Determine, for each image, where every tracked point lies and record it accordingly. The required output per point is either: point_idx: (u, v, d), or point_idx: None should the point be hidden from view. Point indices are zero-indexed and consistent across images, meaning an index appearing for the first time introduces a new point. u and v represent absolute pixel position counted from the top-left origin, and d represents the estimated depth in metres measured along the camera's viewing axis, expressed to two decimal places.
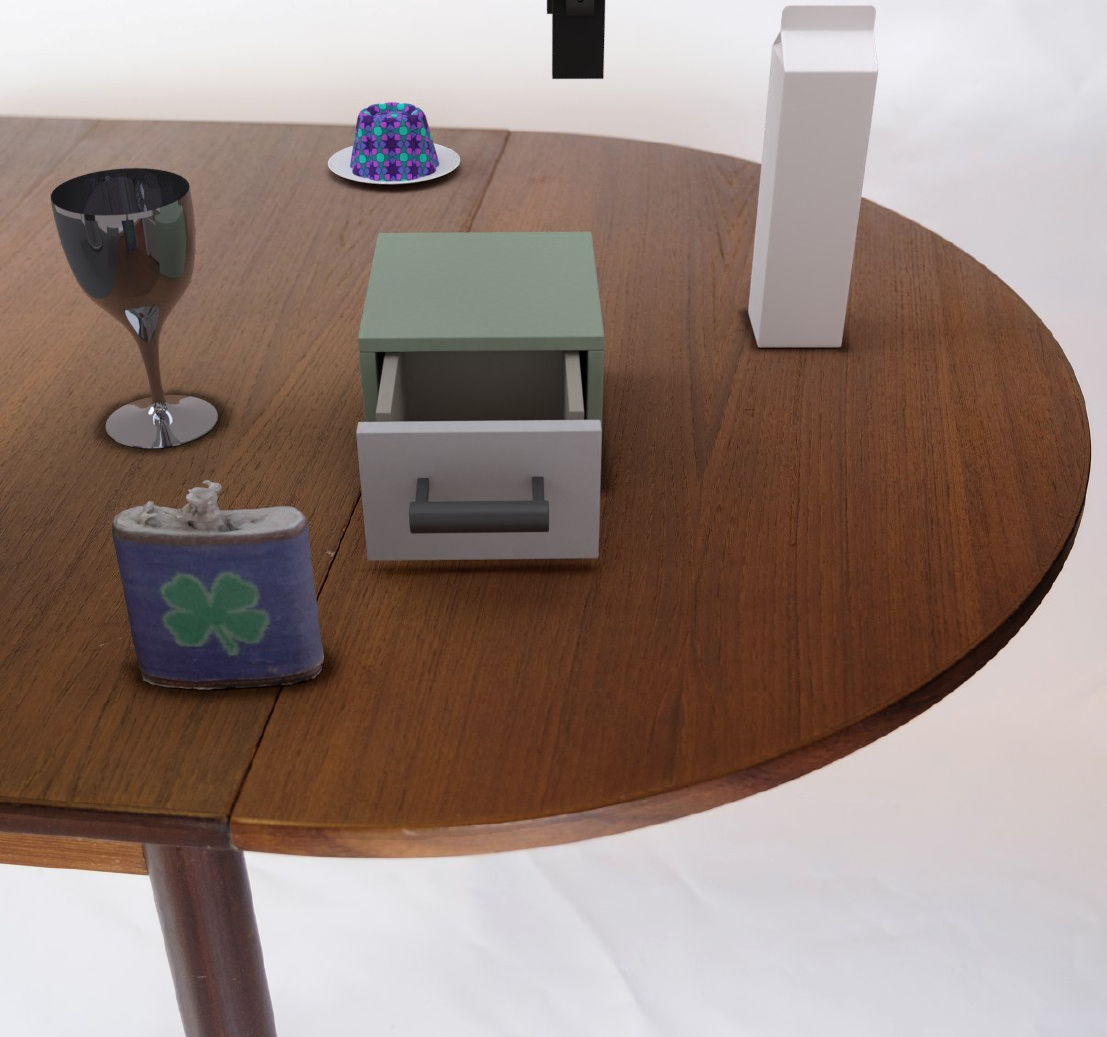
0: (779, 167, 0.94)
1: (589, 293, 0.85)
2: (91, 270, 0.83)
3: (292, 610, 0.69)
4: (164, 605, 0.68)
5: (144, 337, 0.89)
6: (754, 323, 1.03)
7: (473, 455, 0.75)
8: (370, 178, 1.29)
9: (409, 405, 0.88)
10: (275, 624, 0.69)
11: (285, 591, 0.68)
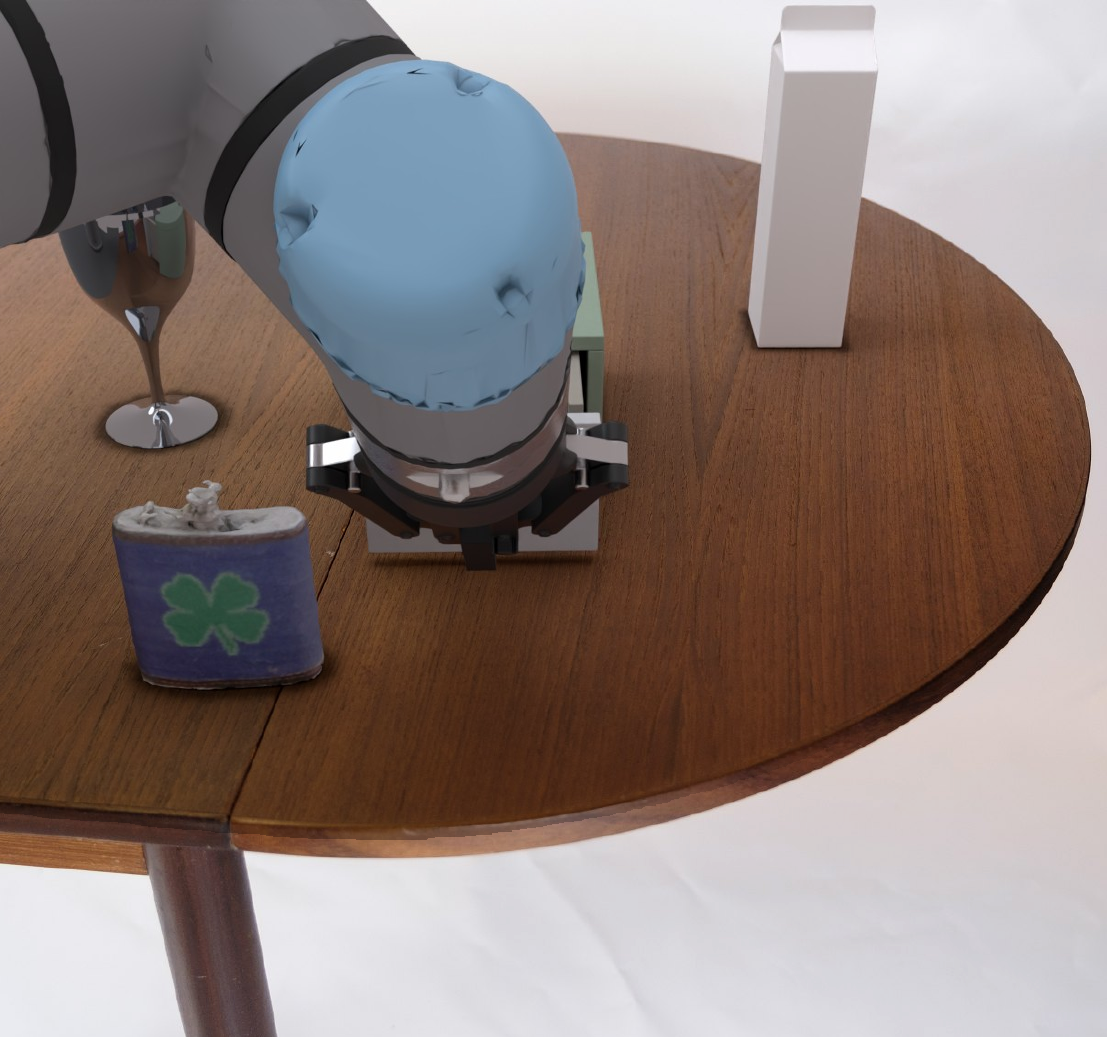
0: (779, 167, 0.94)
1: (589, 293, 0.85)
2: (91, 270, 0.83)
3: (292, 610, 0.69)
4: (164, 605, 0.68)
5: (144, 337, 0.89)
6: (754, 323, 1.03)
7: None
8: None
9: None
10: (275, 624, 0.69)
11: (285, 591, 0.68)
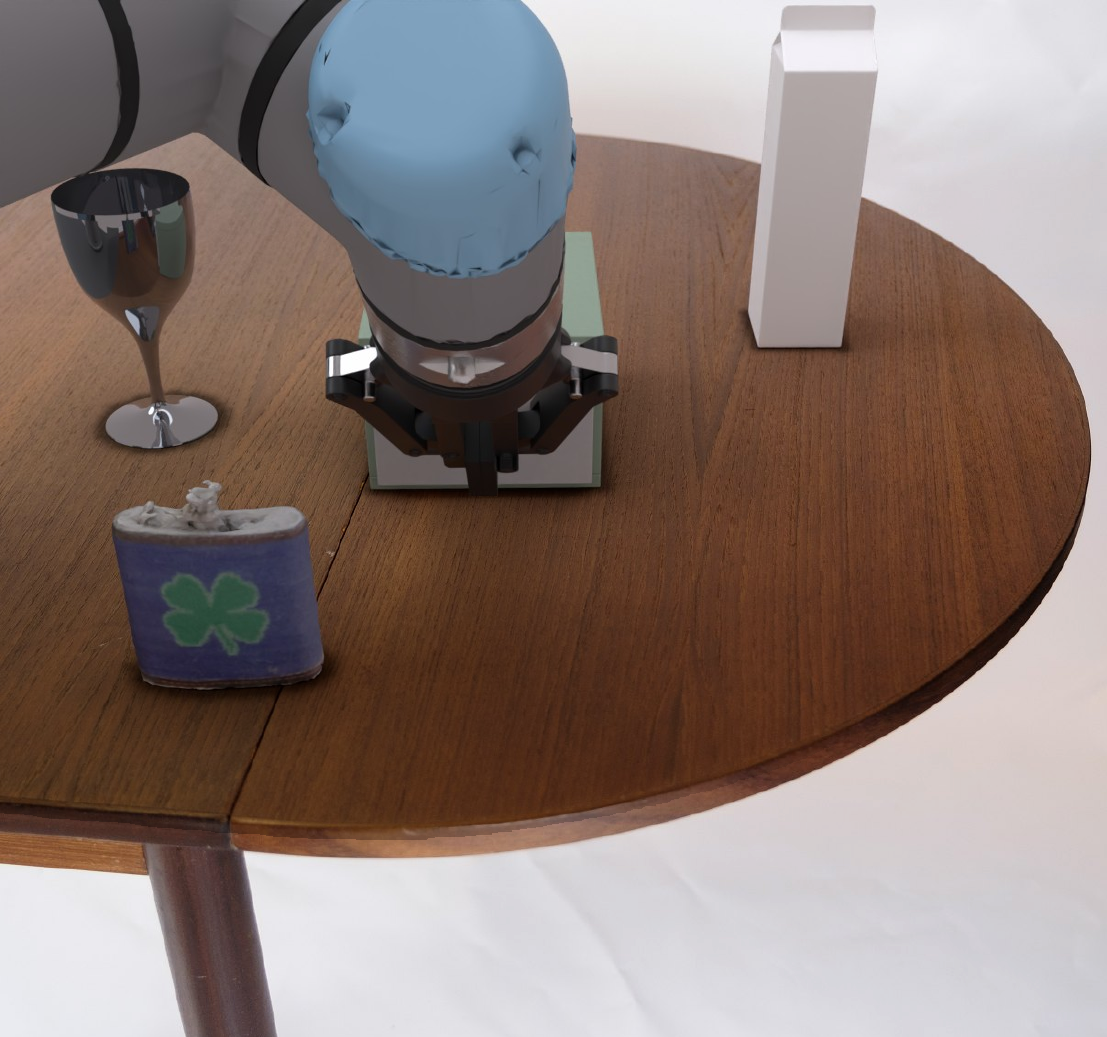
0: (779, 167, 0.94)
1: (589, 293, 0.85)
2: (91, 270, 0.83)
3: (292, 610, 0.69)
4: (164, 605, 0.68)
5: (144, 337, 0.89)
6: (754, 323, 1.03)
7: None
8: None
9: None
10: (275, 624, 0.69)
11: (285, 591, 0.68)
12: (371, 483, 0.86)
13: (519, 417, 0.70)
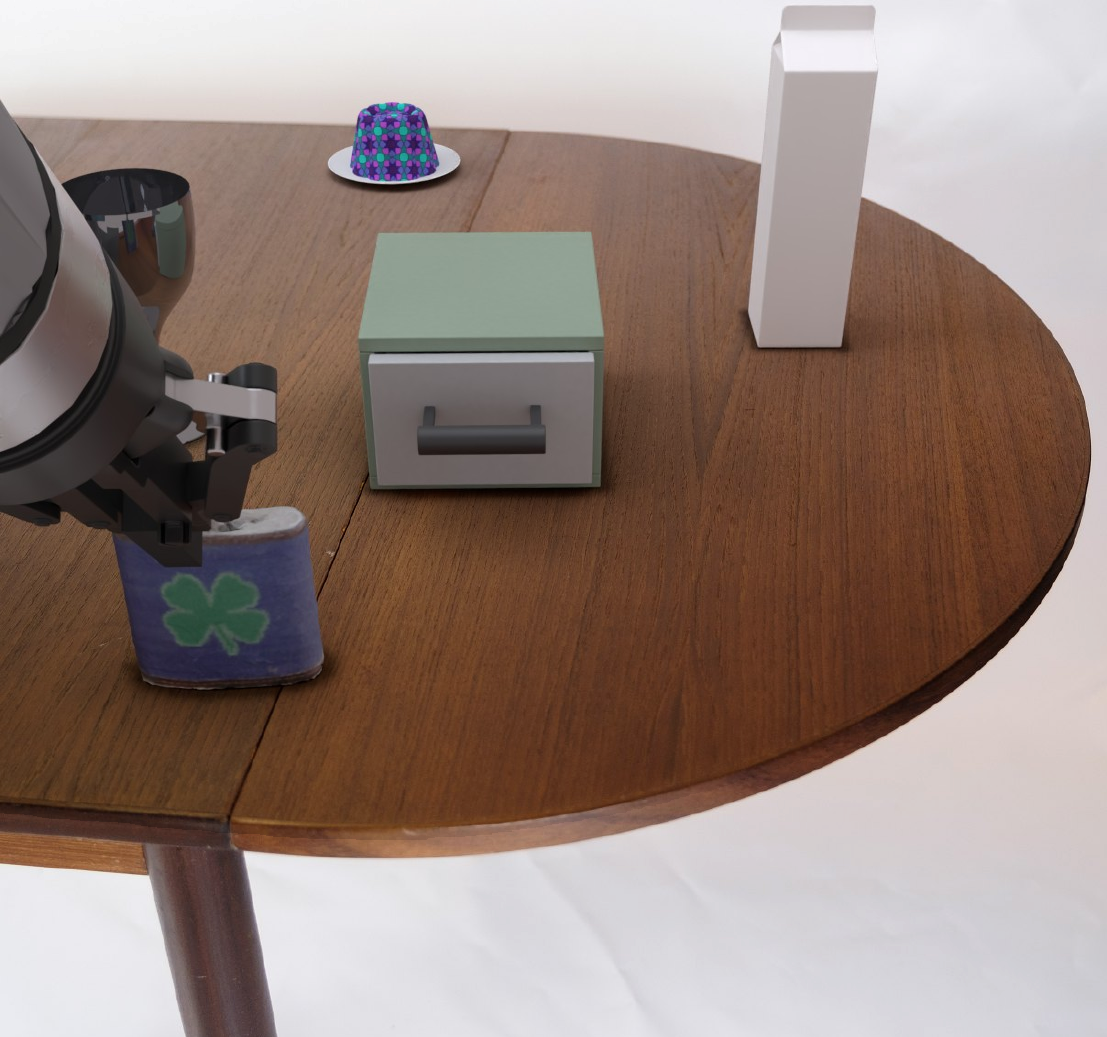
0: (779, 167, 0.94)
1: (589, 293, 0.85)
2: None
3: (292, 610, 0.69)
4: (164, 605, 0.68)
5: None
6: (754, 323, 1.03)
7: (476, 384, 0.81)
8: (370, 178, 1.29)
9: None
10: (275, 624, 0.69)
11: (285, 591, 0.68)
12: (371, 483, 0.86)
13: (188, 470, 0.50)
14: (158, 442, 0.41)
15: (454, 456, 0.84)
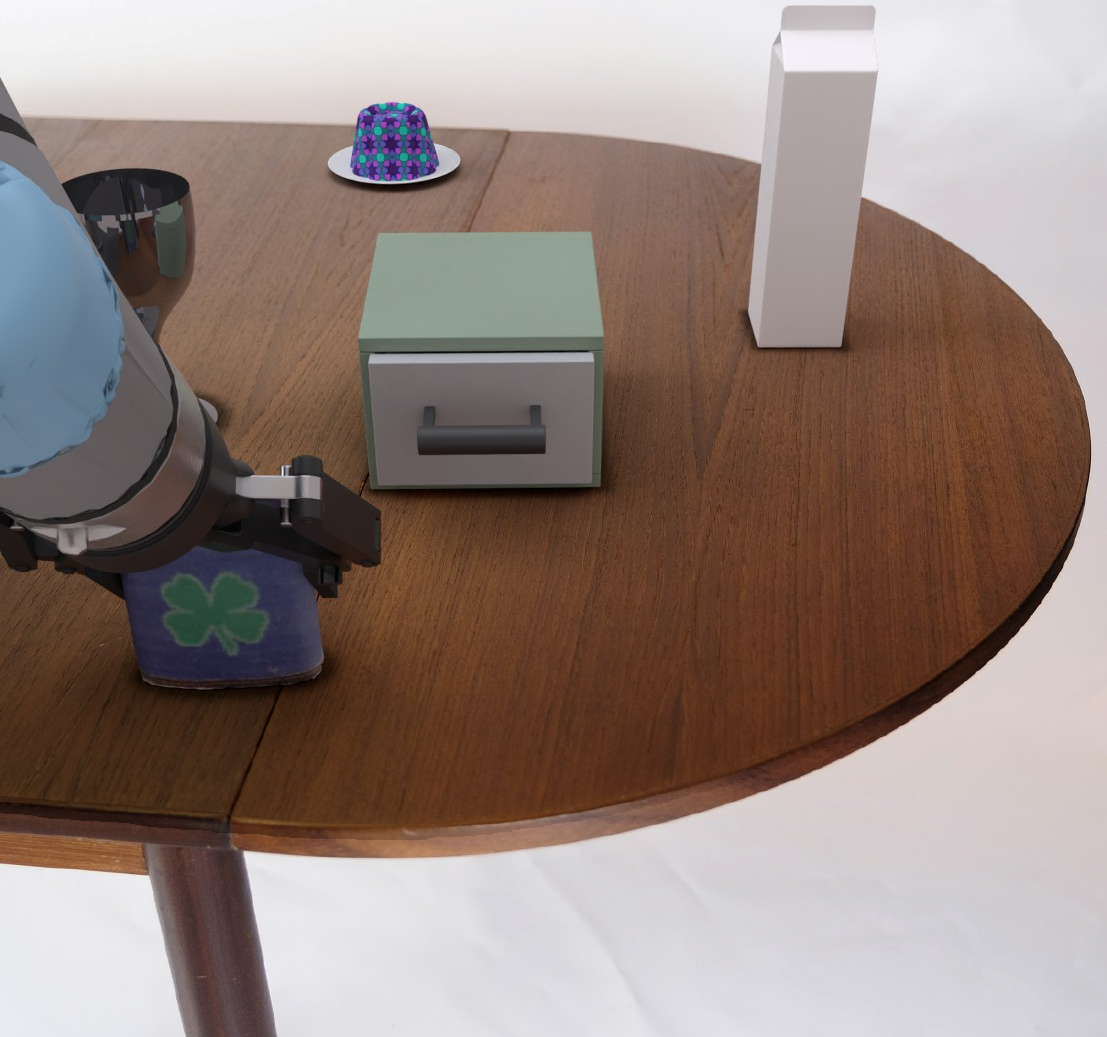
0: (779, 167, 0.94)
1: (589, 293, 0.85)
2: None
3: (291, 610, 0.69)
4: (164, 605, 0.68)
5: None
6: (754, 323, 1.03)
7: (476, 384, 0.81)
8: (370, 178, 1.29)
9: None
10: (275, 624, 0.69)
11: (285, 591, 0.68)
12: (371, 483, 0.86)
13: None
14: (228, 523, 0.57)
15: (454, 456, 0.84)
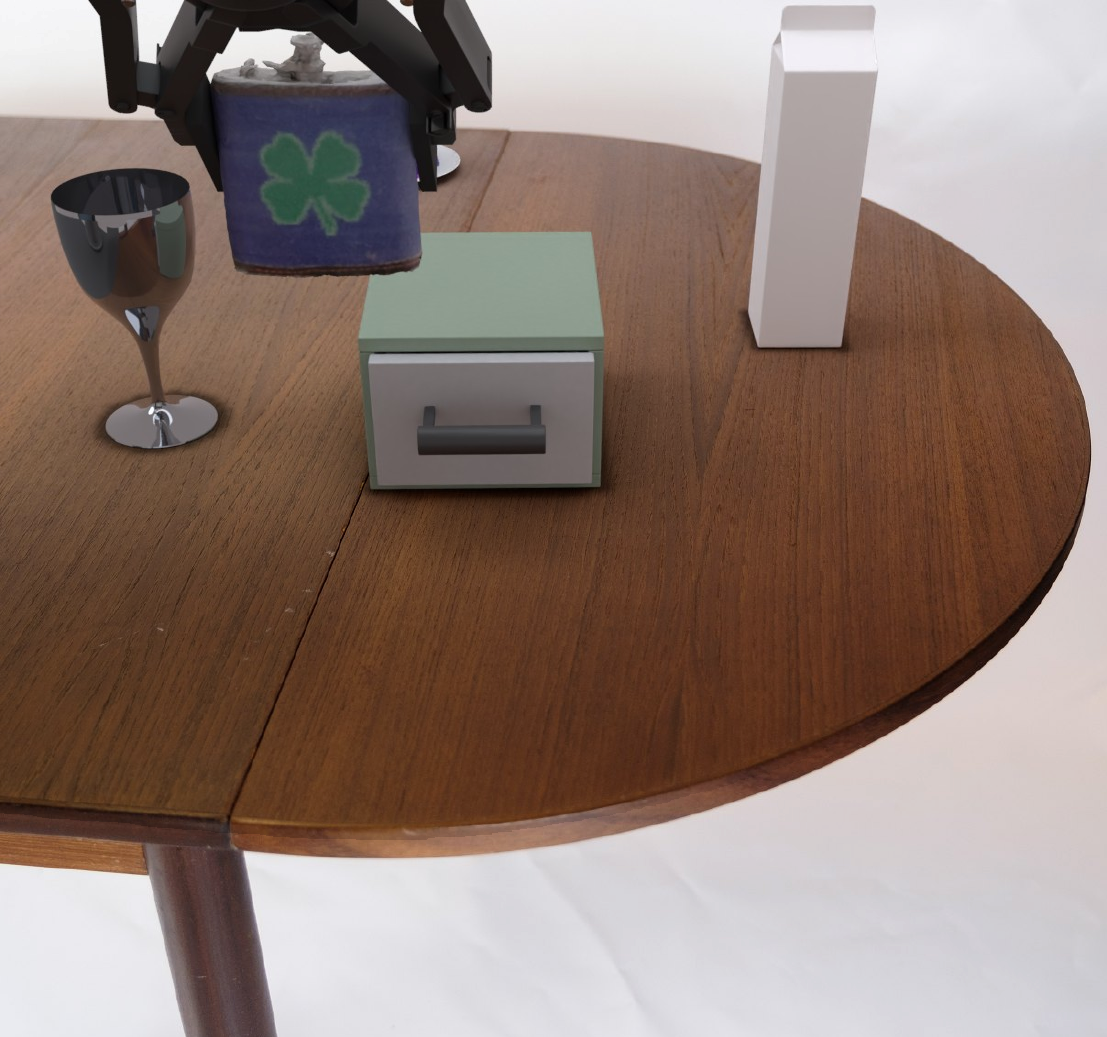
0: (779, 167, 0.94)
1: (589, 293, 0.85)
2: (91, 270, 0.83)
3: (393, 183, 0.67)
4: (262, 173, 0.66)
5: (144, 337, 0.89)
6: (754, 323, 1.03)
7: (476, 384, 0.81)
8: None
9: None
10: (376, 199, 0.67)
11: (388, 158, 0.66)
12: (371, 483, 0.86)
13: None
14: None
15: (454, 456, 0.84)
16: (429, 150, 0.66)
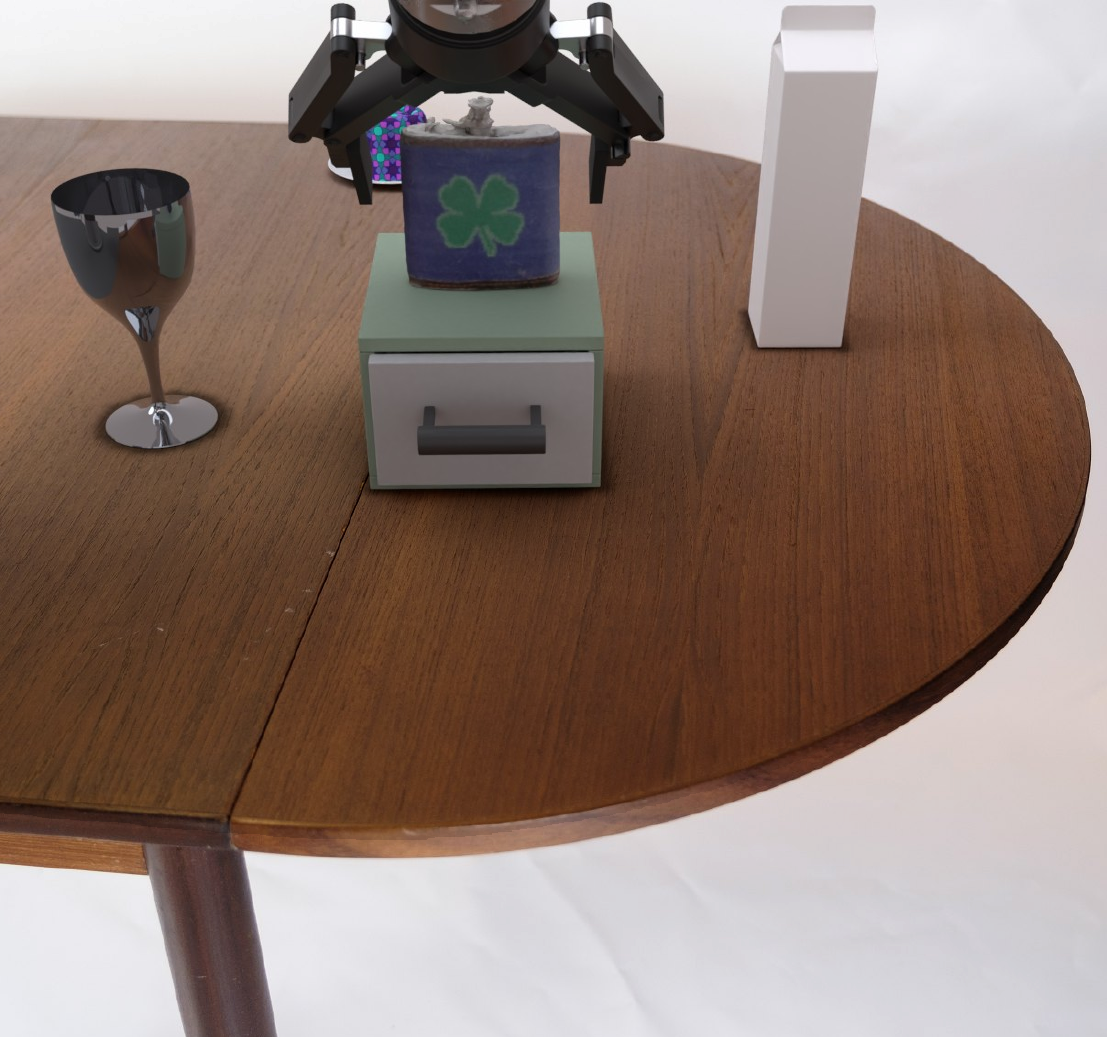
0: (779, 167, 0.94)
1: (589, 293, 0.85)
2: (91, 270, 0.83)
3: (543, 215, 0.83)
4: (439, 207, 0.83)
5: (144, 337, 0.89)
6: (754, 323, 1.03)
7: (476, 384, 0.81)
8: None
9: None
10: (529, 227, 0.84)
11: (540, 195, 0.83)
12: (371, 483, 0.86)
13: None
14: (533, 70, 0.71)
15: (454, 456, 0.84)
16: (605, 171, 0.81)
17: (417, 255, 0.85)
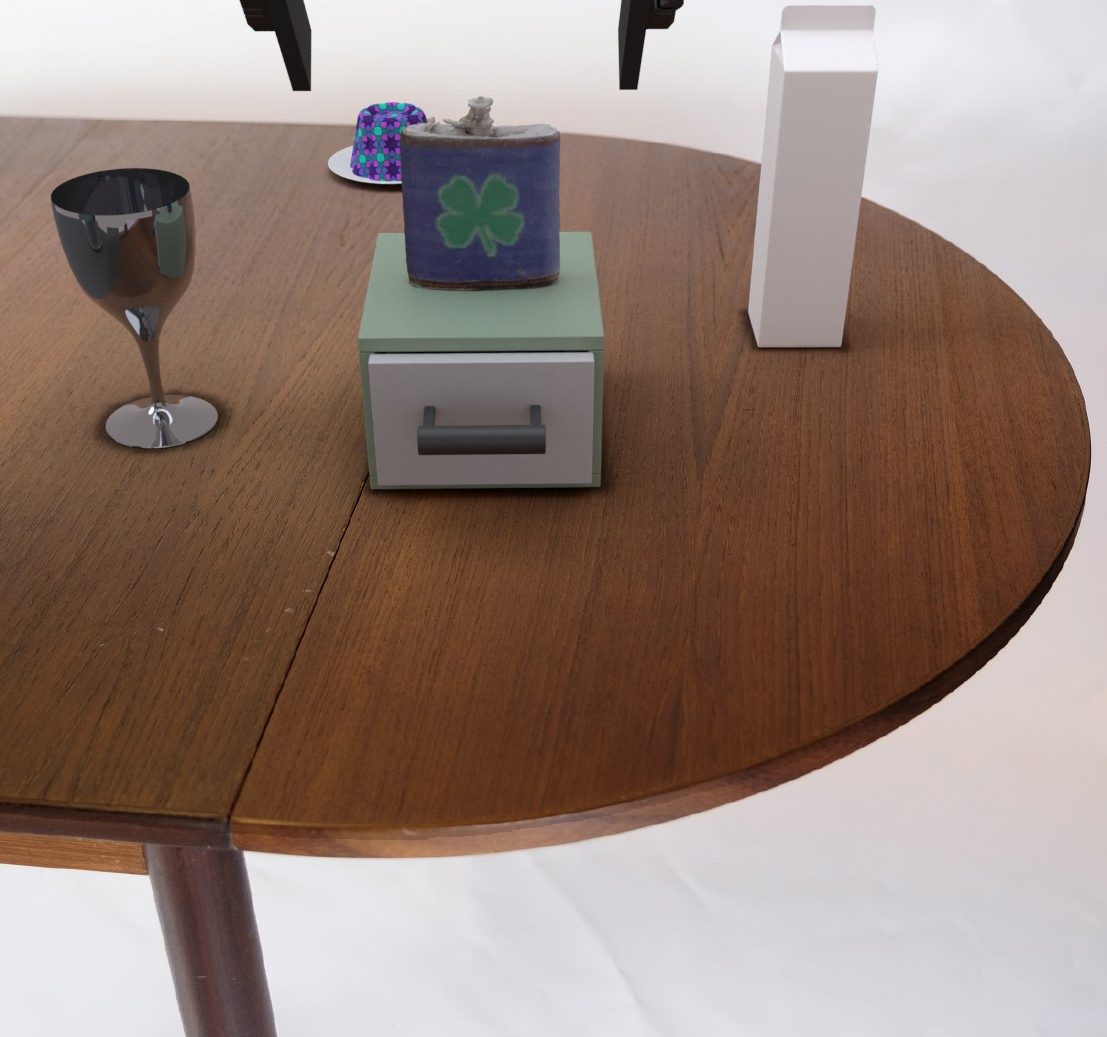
0: (779, 167, 0.94)
1: (589, 293, 0.85)
2: (91, 270, 0.83)
3: (542, 215, 0.83)
4: (439, 207, 0.83)
5: (144, 337, 0.89)
6: (754, 323, 1.03)
7: (476, 384, 0.81)
8: (370, 178, 1.29)
9: None
10: (529, 227, 0.84)
11: (540, 195, 0.83)
12: (371, 483, 0.86)
13: None
14: None
15: (454, 456, 0.84)
16: (644, 33, 0.56)
17: (417, 255, 0.85)
